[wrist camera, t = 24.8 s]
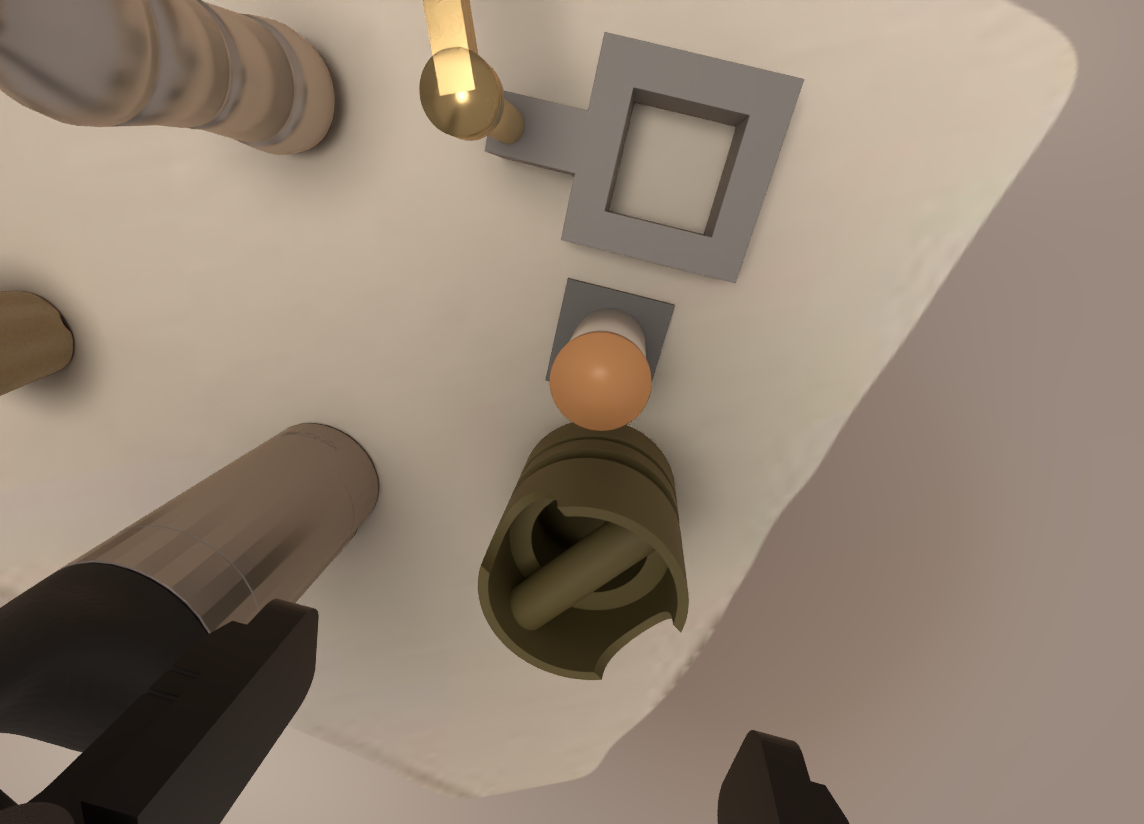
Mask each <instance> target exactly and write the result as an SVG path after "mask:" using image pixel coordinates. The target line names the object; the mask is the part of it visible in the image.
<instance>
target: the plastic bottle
mask: <svg viewBox="0 0 1144 824" xmlns="http://www.w3.org/2000/svg"><path fill="white" fill-rule="evenodd" d="M0 90H1V91H2V92H4V93H5V94H6V95H7V96H9V97H10V98H12V99H13V100H15V101H16V102H18V103H20V104H21V105H23V106H25V107H27V108H29V109H32V110H34V111H36V112H38V113H41V114H43V115H45V116H47V117H50V118H52V119H55V120H57V121H59V122H62V123H66V124H71V125H77V126H91V127H113V126H149V125H159V126H169V127H179V128H191V129H200V130H204V131H208V132H211V133H215V134H218V135H222V136H225V137H229V138H232V139H235V140H237V141H239V142H241V143H243V144H246V145H248V146H250V147H253V148H255V149H258V150H261V151H264V152H267V153H271V154H277V155H284V154H293V153H299V152H303V151H306V150H309V149H311V148H312V147H314V146H316V145H317V144H318V143H319V142H320V141H321V140H322V139H323V138H324V137H325V135H326V133H327V132H328V130H329V128H330V125H331V123H332V120H333V115H334V109H335V94H334V88H333V83H332V79H331V76H330V73H329V71H328V69H327V67H326V64H325V62H324V61H323V59H322V58H321V56H320V55H319V53H318V52H317V51H316V50H315V49H314V48H313V47H312V46H311V45H310V44H309V43H308V42H307V41H306V40H305V39H304V38H302V37H301V36H300V35H299V34H298V33H297V32H295V31H294V30H292V29H291V28H290V27H288V26H287V25H285V24H282V23H280V22H278V21H275V20H271V19H268V18H264V17H260V16H255V15H249V14H240V13H236V12H233V11H230V10H227V9H224V8H221V7H218V6H215V5H212V4H209V3H206V2H204V1H202V0H0Z"/></svg>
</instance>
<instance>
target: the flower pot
mask: <svg viewBox="0 0 1144 824" xmlns="http://www.w3.org/2000/svg"><path fill="white" fill-rule="evenodd" d="M72 353H73V339H72V334H71V332H70V331H69V330H68V329H67V328H66V327H65V326H64V324H63V322H62V320H61V318H60V313H59V312H58V311H57V310H56V309H55V308H54V307H53V306H52V305H51V304H49V303H48V302H47V301H45V300H44V299H42V298H40V297H39V296H36V295H34V294H31V293H28V292H24V291H3V292H0V396H1V395H3V394H6V393H8V392H10V391H12V390H15V389H17V388H19V387H21V386H24V385H26V384H28V383H31V382H33V381H35V380H38V379H40V378H42V377H45V376H47V375H50V374H52V373H55V372H57V371H59V370H61V369H63V368H64V367H65V366H66V365H67V364H68V363H69V361H70V359H71V357H72Z"/></svg>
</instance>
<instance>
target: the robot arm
mask: <svg viewBox="0 0 1144 824" xmlns="http://www.w3.org/2000/svg"><path fill="white" fill-rule="evenodd" d="M377 497H378V479H377V475H376V472H375V469H374V466H373V464H372V462H371V461H370V459H369V457H368V455H367V454H366V453H365V452H364V451H363V449H362V448H361V447H360V446H359V445H358V444H357V443H356V442H355V441H353V440H352V439H351V438H350V437H349V436H347V435H345V434H343V433H342V432H340V431H338V430H336V429H333V428H330V427H328V426H325V425H319V424H300V425H296V426H292V427H290V428H288V429H286V430H284V431H283V432H281V433H279V434H278V435H276V436H274V437H273V438H271V439H269V440H268V441H266V442H265V443H263V444H261V445H260V446H258V447H256V448H255V449H253V450H251V451H250V452H248V453H246V454H245V455H243V456H241V457H240V458H238V459H237V460H235V461H233V462H232V463H230V464H229V465H227V466H225V467H224V468H222V469H220V470H219V471H217V472H216V473H214V474H212V475H211V476H209V477H208V478H206V479H204V480H203V481H201V482H199V483H198V484H196V485H195V486H193V487H191V488H190V489H188V490H187V491H185V492H183V493H182V494H180V495H178V496H177V497H175V498H174V499H172V500H170V501H169V502H167V503H166V504H164V505H162V506H161V507H159V508H157V509H156V510H154V511H153V512H151V513H149V514H148V515H146V516H145V517H143V518H141V519H140V520H138V521H136V522H135V523H133V524H132V525H130V526H128V527H127V528H125V529H124V530H122V531H120V532H119V533H118V534H116V535H114V536H113V537H111V538H109V539H108V540H106V541H105V542H103V543H101V544H100V545H98V546H97V547H95V548H93V549H92V550H90V551H88V552H87V553H85V554H84V555H82V556H80V557H79V558H77V559H76V560H74V561H72V562H71V563H69V564H68V565H66V566H64V567H63V568H61V569H60V570H58V571H56V572H55V573H53V574H52V575H50V576H49V577H47V578H45V579H44V580H42V581H41V582H39V583H38V584H36V585H35V586H33V587H31V588H30V589H28V590H27V591H25V592H24V593H22V594H21V595H19V596H18V597H16V598H14V599H13V600H11V601H10V602H8V603H7V604H5V605H4V606H3V607H1V608H0V733H10V734H16V735H22V736H25V737H30V738H33V739H37V740H40V741H44V742H47V743H51V744H55V745H58V746H62V747H65V748H68V749H71V750H75V751H79V752H83V753H82V754H81V755H80V756H78V757H77V759H76V760H75V761H73V762H72V763H71V764H70V765H69V766H68V767H67V768H66V769H65V770H64V771H63V772H62V773H61V774H60V775H59V776H58V777H57V778H56V779H55V780H54V781H53V782H52V783H51V784H50V785H48V786H47V787H46V788H45V789H44V790H43V791H42V792H41V793H39V794H38V795H37V796H35V797H34V798H33V799H31V800H30V801H29V802H27V803H24V804H20V805H18V804H17V803H16V802H14V801H13V800H12V799H11V798H10V797H9V796H8V795H6V794H5V793H4V792H3V791H2V790H1V789H0V824H220V823H221V821H222V820H223V818H224V817H225V815H226V814H227V813H228V811H229V810H230V808H231V807H232V805H233V804H234V802H235V801H236V799H237V798H238V796H239V795H240V794H241V792H242V791H243V789H244V788H245V786H246V785H247V783H248V782H249V780H250V779H251V777H252V776H253V775H254V773H255V772H256V770H257V769H258V767H259V766H260V764H261V763H262V761H263V760H264V758H265V757H266V756H267V754H268V753H269V751H270V750H271V748H272V747H273V745H274V744H275V742H276V741H277V739H278V738H279V737H280V735H281V734H282V732H283V730H284V729H285V728H286V726H287V725H288V723H289V722H290V720H291V719H292V718H293V716H294V715H295V713H296V712H297V710H298V709H299V707H300V706H301V704H302V702H303V701H304V699H305V697H306V695H307V693H308V690H309V688H310V686H311V683H312V680H313V677H314V672H315V664H316V648H317V633H318V611H317V610H316V609H314V608H310V607H306V606H303V605H299V604H295V603H296V602H297V600H298V599H299V598H300V597H301V596H302V595H303V594H304V592H305V591H306V590H307V589H308V588H309V587H310V586H311V584H312V583H313V582H314V581H315V580H316V579H317V578H318V576H319V575H320V574H321V573H322V572H323V571H324V570H325V569H326V567H327V566H328V565H329V564H330V563H331V562H332V561H333V559H334V558H335V557H336V556H337V555H338V554H339V553H340V551H341V550H342V549H343V548H344V547H345V546H346V545H347V543H348V542H349V541H350V540H351V539H352V538H353V537H354V535H355V534H356V529H357V528H358V526H359V525H360V524H361V523H362V522H363V521H364V520H365V519H366V517H367V516H368V515H369V514H370V512H371V511H372V510H373V508H374V506H375V503H376V501H377ZM718 824H849V822H848V820H847V818H846V817H845V815H844V814H843V812H842V810H841V809H840V807H839V806H838V804H837V803H836V801H835V800H834V798H833V797H832V795H831V793H830V792H829V791H828V789H827V787H826V786H825V785H822V784H818V783H815V782H812V781H810V778H809V775H808V771H807V767H806V764H805V761H804V757H803V754H802V751H801V749H800V747H799V745H798V744H797V743H796V742H794V741H791V740H788V739H784V738H780V737H777V736H773V735H770V734H766V733H762V732H758V731H755V730H751V731H749V733H748V734H747V736H746V737H745V739H744V741H743V743H742V745H741V747H740V749H739V751H738V753H737V755H736V757H735V759H734V761H733V763H732V765H731V767H730V769H729V771H728V773H727V775H726V777H725V779H724V781H723V783H722V786H721V789H720V794H719V800H718Z"/></svg>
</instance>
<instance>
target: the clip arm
mask: <svg viewBox="0 0 1144 824" xmlns="http://www.w3.org/2000/svg"><path fill="white" fill-rule="evenodd" d="M423 5H424V11H425V16H426V22H427V27H428V33H429V38H430V43H431V49H432V54H433V56H432V57H431V58H430V59H429V61H428V62H427V64H426V65H425V67H424V69H423V72H422V75H421V79H420V99H421V103H422V106H423V109H424V111H425V113H426V115H427V117H428V118H429V120H430V121H431V122H432V123H433V125H435V126H436V127H437V128H438V129H439V130H441V131H442V132H444V133H446V134H449V135H451V136H454V137H456V138H459V139H462V140H468V141H473V140H479V139H481V138H484V137H486V136H487V135H489V134H490V133H491V132H492V131H493V130H494V129H495V128H496V127H497V125H498V124H499V122H500V120H501V117H502V115H503V111H504V102H505V98H504V91H503V87H502V83H501V81H500V79H499V77H498V75H497V74H496V72H495V71H494V70H493V68H492V67H491V66H490V65H488V64H487V63H486V62H485V61H484V60H483V59H482V58H481V57H480V56H479V55H478V50H477V44H476V38H475V31H474V25H473V19H472V12H471V6H470V0H423Z"/></svg>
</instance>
